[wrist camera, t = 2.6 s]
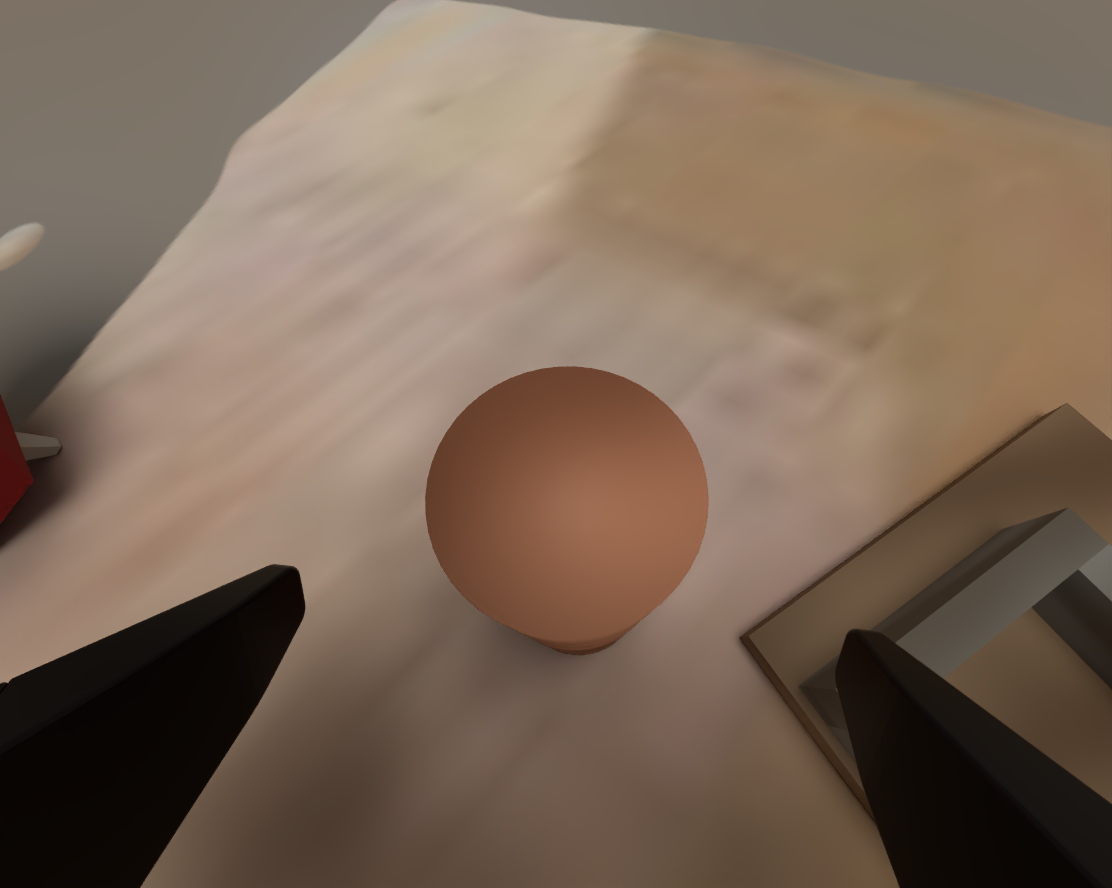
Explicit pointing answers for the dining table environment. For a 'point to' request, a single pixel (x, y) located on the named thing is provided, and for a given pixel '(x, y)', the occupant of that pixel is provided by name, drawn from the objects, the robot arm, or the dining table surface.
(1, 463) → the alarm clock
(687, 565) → the peg
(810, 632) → the socket board
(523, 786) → the dining table surface
